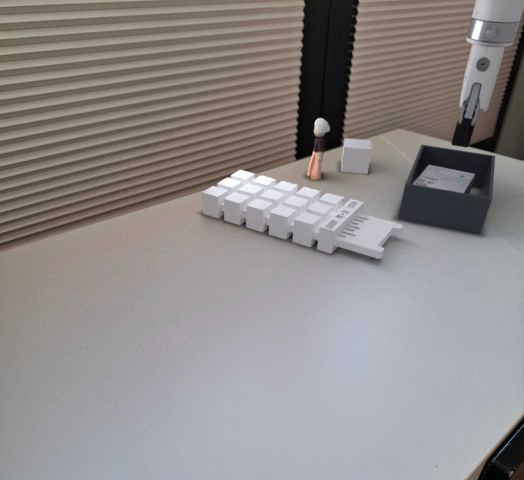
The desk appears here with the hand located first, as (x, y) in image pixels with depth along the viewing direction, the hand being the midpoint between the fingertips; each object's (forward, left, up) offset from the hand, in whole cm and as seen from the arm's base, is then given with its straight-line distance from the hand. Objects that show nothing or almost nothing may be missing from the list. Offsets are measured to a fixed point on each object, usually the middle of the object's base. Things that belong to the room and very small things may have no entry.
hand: (459, 144), depth 96 cm
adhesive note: (+14, -19, -12) cm, 27 cm away
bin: (0, 0, -12) cm, 12 cm away
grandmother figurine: (+24, -14, -12) cm, 30 cm away
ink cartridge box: (-2, -5, -9) cm, 10 cm away
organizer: (+31, +8, -12) cm, 34 cm away
